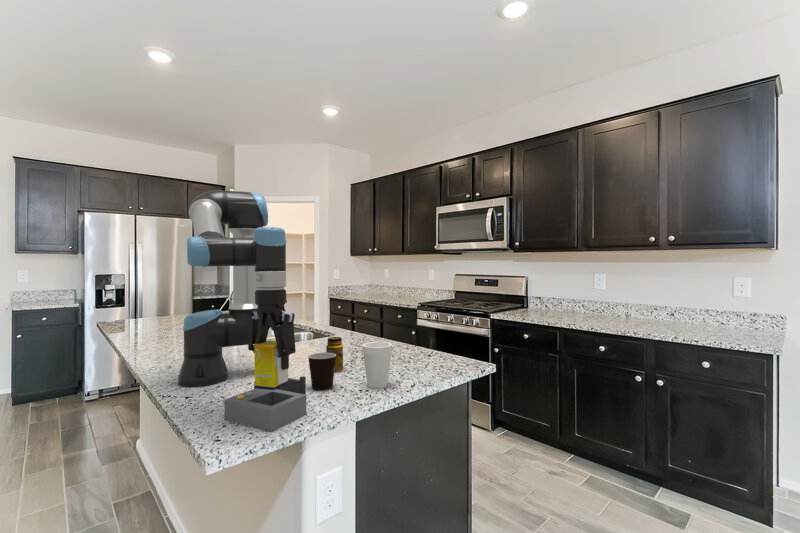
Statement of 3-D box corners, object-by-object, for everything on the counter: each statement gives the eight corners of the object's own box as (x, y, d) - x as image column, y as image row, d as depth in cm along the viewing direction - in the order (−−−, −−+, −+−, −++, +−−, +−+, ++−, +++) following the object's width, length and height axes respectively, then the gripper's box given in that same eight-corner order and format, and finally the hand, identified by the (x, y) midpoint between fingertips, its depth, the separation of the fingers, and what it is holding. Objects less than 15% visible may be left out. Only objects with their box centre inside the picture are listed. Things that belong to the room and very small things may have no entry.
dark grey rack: (254, 399, 112) (254, 381, 112) (280, 389, 121) (280, 372, 121) (280, 405, 107) (279, 386, 107) (305, 394, 116) (305, 376, 116)
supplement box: (269, 381, 101) (268, 340, 102) (288, 383, 100) (288, 341, 100) (253, 388, 96) (253, 344, 96) (274, 390, 94) (274, 345, 94)
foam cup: (356, 385, 124) (356, 345, 124) (377, 379, 131) (377, 340, 131) (377, 392, 118) (377, 349, 118) (398, 385, 124) (398, 344, 124)
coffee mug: (330, 392, 118) (329, 359, 118) (303, 390, 119) (303, 358, 119) (343, 381, 129) (343, 351, 129) (319, 380, 131) (318, 350, 131)
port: (224, 419, 97) (224, 397, 97) (261, 404, 108) (261, 384, 108) (271, 431, 90) (271, 407, 90) (306, 414, 100) (306, 392, 100)
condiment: (347, 370, 143) (347, 337, 143) (328, 375, 137) (328, 341, 137) (336, 366, 148) (336, 335, 148) (317, 371, 142) (316, 338, 142)
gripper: (231, 289, 99) (232, 379, 99) (289, 290, 90) (290, 389, 90) (255, 287, 106) (256, 372, 106) (310, 288, 97) (311, 381, 97)
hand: (271, 380), depth 98 cm, fingers closed on supplement box, 6 cm apart
